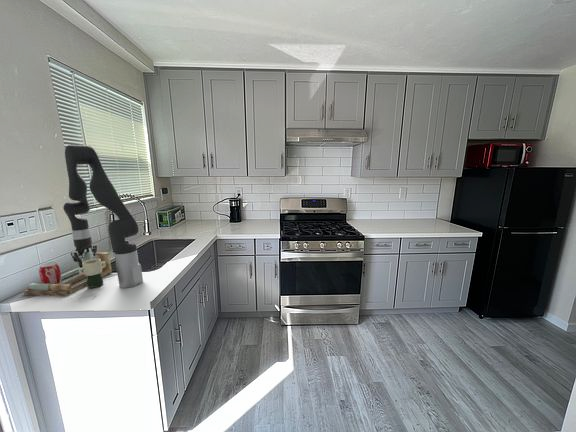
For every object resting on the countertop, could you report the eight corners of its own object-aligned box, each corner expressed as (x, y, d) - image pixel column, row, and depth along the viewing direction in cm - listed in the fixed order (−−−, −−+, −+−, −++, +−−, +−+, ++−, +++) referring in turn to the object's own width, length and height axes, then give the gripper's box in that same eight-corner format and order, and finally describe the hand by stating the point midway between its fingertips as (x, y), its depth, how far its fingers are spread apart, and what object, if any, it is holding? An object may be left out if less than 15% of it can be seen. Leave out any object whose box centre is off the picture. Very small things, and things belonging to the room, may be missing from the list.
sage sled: (97, 270, 135) (93, 252, 133) (49, 292, 110) (44, 270, 108) (81, 270, 135) (78, 252, 133) (30, 292, 111) (25, 270, 109)
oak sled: (114, 271, 134) (111, 252, 132) (69, 293, 109) (65, 271, 107) (98, 270, 135) (95, 252, 133) (51, 293, 110) (46, 270, 108)
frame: (108, 274, 130) (107, 271, 129) (67, 296, 107) (66, 292, 107) (72, 273, 131) (71, 270, 131) (24, 294, 109) (23, 290, 109)
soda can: (66, 283, 119) (62, 261, 117) (53, 290, 112) (48, 267, 110) (52, 284, 119) (47, 261, 117) (38, 291, 112) (33, 267, 110)
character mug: (104, 280, 123) (100, 256, 121) (111, 282, 120) (108, 258, 118) (78, 289, 114) (74, 263, 112) (86, 292, 111) (81, 266, 108)
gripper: (75, 240, 123) (81, 271, 127) (99, 233, 137) (104, 261, 141) (62, 240, 124) (68, 271, 127) (87, 233, 138) (92, 261, 141)
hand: (87, 265), depth 134 cm, fingers open, 5 cm apart
